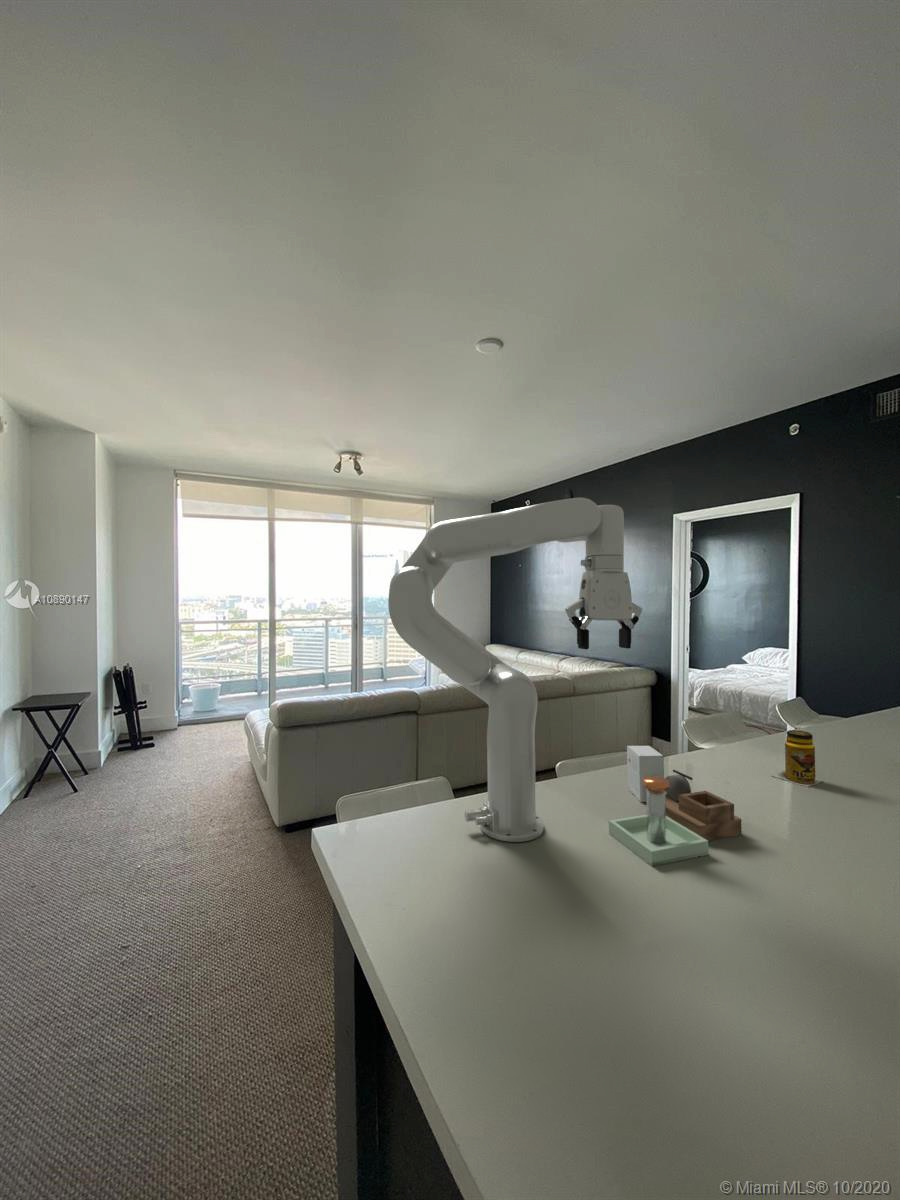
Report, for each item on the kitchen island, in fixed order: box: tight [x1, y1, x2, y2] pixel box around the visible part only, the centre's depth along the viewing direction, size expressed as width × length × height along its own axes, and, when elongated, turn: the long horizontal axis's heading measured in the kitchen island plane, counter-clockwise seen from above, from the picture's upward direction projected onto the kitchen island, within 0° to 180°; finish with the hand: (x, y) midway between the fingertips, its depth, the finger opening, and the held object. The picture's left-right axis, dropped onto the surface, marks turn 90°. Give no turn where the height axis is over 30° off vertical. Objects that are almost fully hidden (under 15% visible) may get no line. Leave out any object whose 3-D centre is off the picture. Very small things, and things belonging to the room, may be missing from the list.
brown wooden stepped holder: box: [664, 769, 743, 841], centre depth 96 cm, size 10×14×8 cm
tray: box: [608, 814, 709, 867], centre depth 87 cm, size 12×12×2 cm
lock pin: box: [643, 776, 669, 845], centre depth 88 cm, size 4×4×11 cm
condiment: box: [770, 729, 823, 788], centre depth 119 cm, size 7×8×12 cm
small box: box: [626, 745, 665, 803], centre depth 109 cm, size 8×6×10 cm
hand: (604, 648), depth 97 cm, fingers open, 9 cm apart
